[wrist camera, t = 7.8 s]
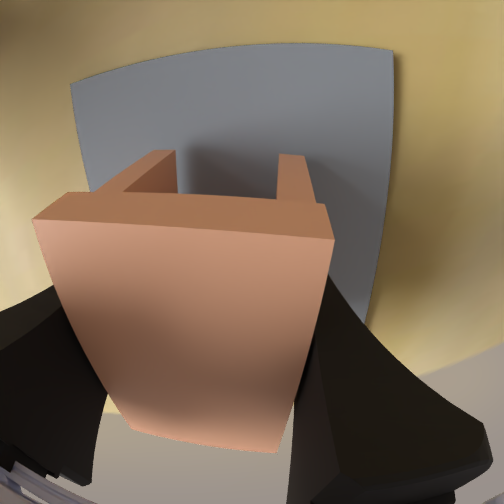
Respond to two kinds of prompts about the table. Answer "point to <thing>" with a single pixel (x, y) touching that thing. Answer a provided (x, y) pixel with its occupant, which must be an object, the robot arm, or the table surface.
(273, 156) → the slate mat
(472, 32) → the table surface
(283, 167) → the terracotta stool
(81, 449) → the robot arm
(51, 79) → the table surface
